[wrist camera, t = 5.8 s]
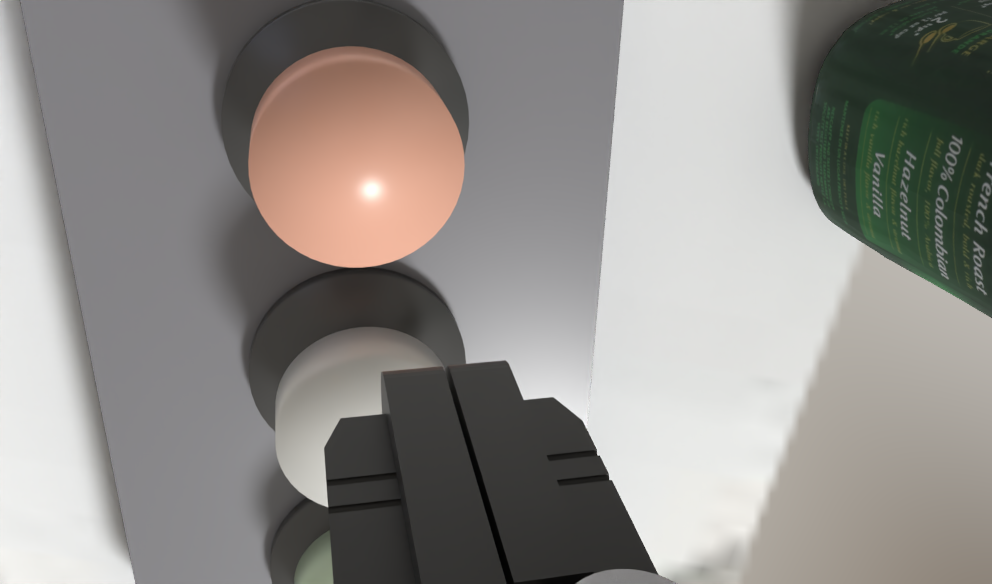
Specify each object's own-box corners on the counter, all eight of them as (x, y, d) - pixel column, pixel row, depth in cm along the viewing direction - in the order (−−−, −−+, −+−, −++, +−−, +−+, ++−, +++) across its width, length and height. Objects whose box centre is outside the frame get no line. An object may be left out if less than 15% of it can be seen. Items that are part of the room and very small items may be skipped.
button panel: (45, -43, 23) (9, -22, 20) (589, -41, 25) (632, -23, 22) (161, 595, 32) (149, 676, 29) (549, 545, 35) (576, 614, 32)
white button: (268, 333, 23) (267, 367, 21) (451, 319, 24) (462, 350, 22) (282, 483, 25) (283, 522, 23) (450, 464, 26) (460, 501, 24)
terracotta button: (240, 48, 20) (237, 65, 18) (453, 44, 21) (466, 60, 19) (259, 245, 22) (258, 274, 20) (452, 233, 23) (463, 260, 21)
